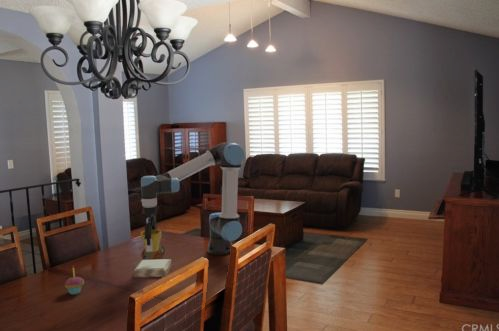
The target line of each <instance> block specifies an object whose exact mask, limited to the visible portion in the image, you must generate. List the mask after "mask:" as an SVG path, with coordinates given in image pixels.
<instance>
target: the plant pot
mask: <svg viewBox="0 0 499 331" xmlns="http://www.w3.org/2000/svg"><path fill="white" fill-rule="evenodd" d="M140 238H141V241H142V243H143V246H144V249H145V250H146V252H155V251H158V250H159V244H161V239H162V231H161V230H160V229H157V230H152V231H151V238H152V251H147V248H146V239H144V238H145V230H143V231H141V232H140Z"/></svg>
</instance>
